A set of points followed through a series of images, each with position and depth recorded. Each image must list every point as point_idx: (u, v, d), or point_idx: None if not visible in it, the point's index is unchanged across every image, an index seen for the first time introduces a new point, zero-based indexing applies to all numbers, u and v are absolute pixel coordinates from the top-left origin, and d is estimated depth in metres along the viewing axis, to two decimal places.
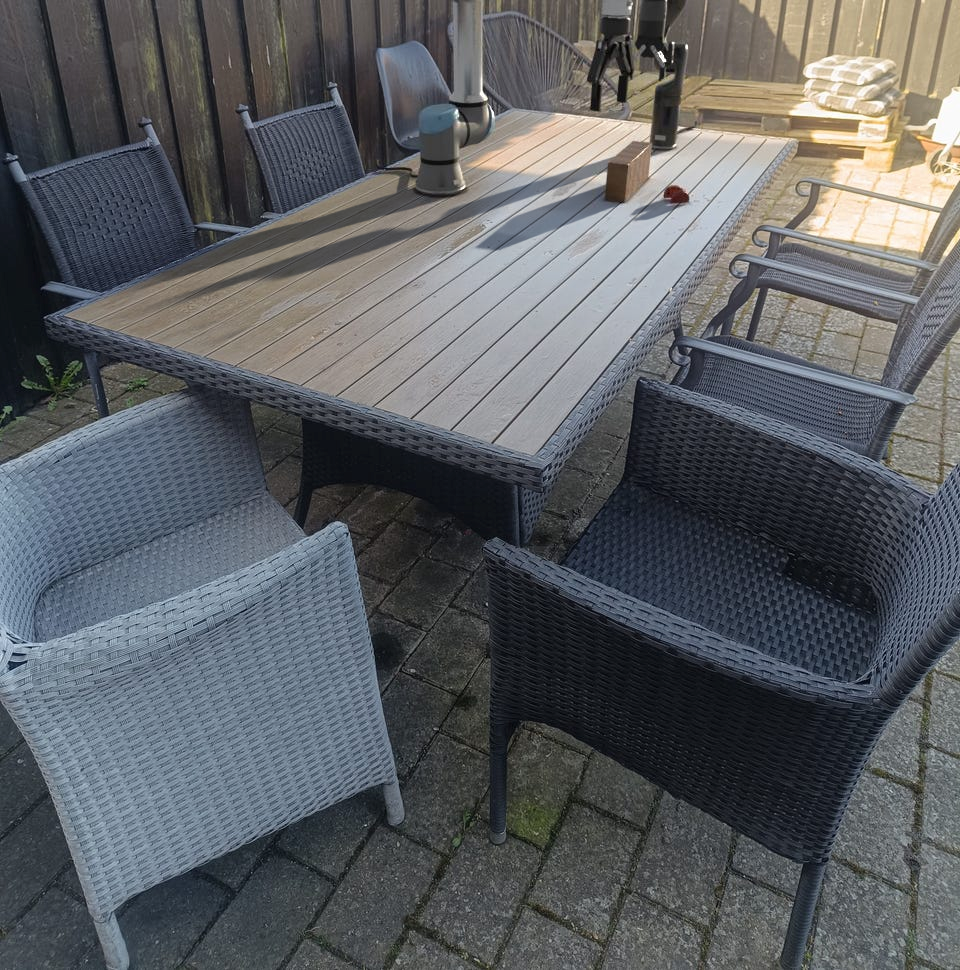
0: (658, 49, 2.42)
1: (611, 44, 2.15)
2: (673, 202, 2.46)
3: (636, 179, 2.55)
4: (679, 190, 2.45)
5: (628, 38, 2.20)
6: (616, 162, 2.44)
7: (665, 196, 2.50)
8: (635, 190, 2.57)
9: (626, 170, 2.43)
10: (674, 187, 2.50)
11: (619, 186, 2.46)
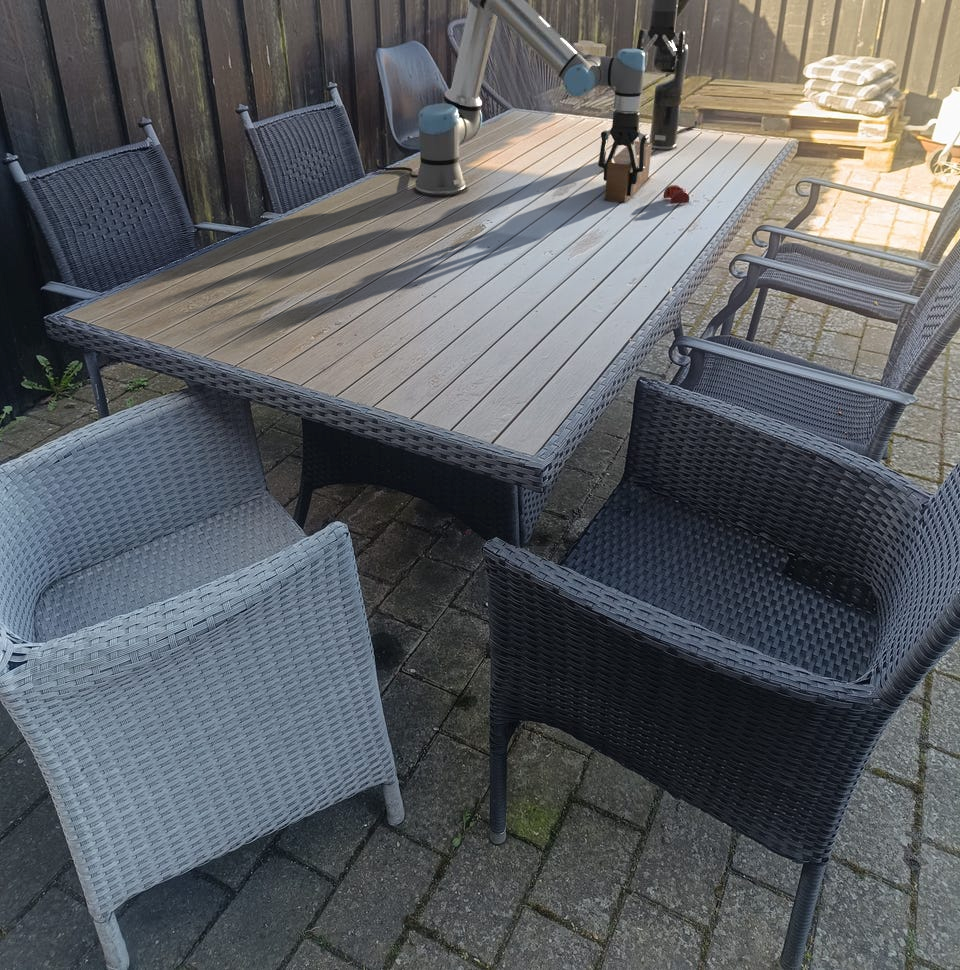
0: (669, 38, 2.56)
1: None
2: (673, 202, 2.46)
3: None
4: (679, 190, 2.45)
5: None
6: (616, 162, 2.44)
7: (665, 196, 2.50)
8: (635, 190, 2.57)
9: (626, 170, 2.43)
10: (674, 187, 2.50)
11: (619, 186, 2.46)
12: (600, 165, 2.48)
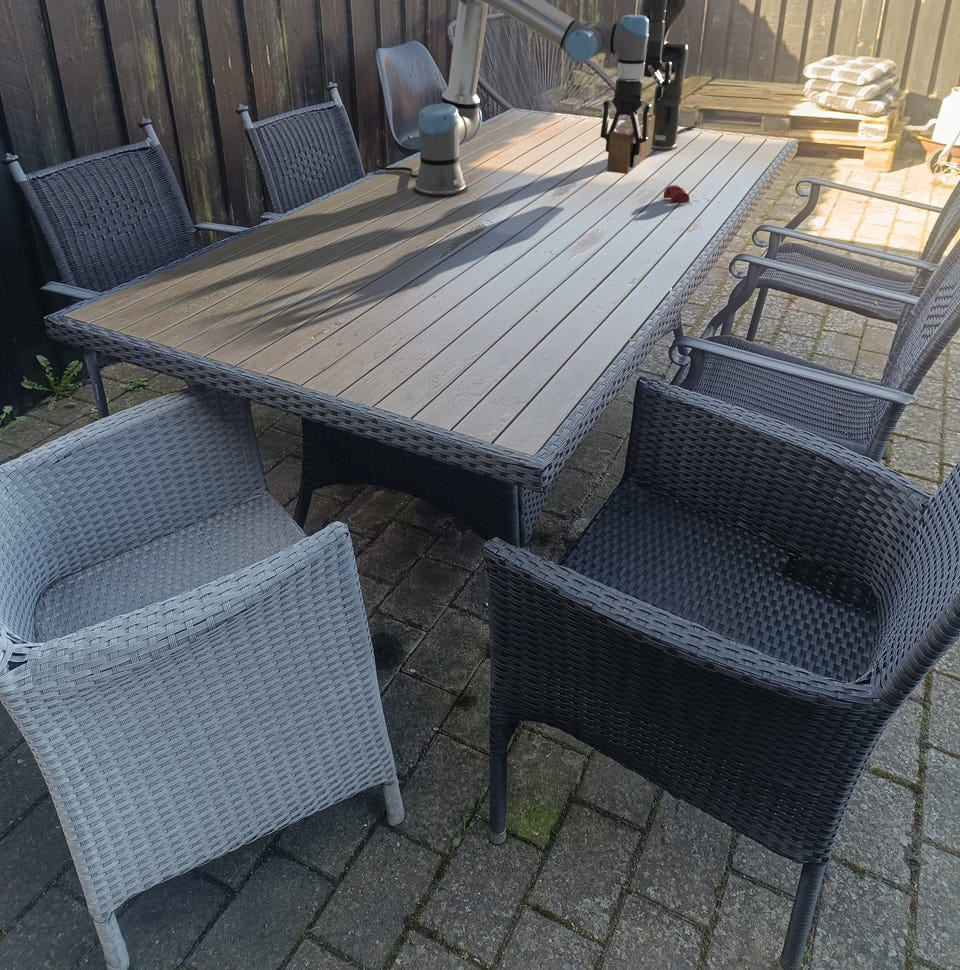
0: (655, 69, 2.46)
1: None
2: (673, 202, 2.46)
3: None
4: (679, 190, 2.45)
5: None
6: (619, 132, 2.39)
7: (665, 196, 2.50)
8: (638, 162, 2.52)
9: (629, 140, 2.38)
10: (674, 187, 2.50)
11: (622, 157, 2.41)
12: (602, 136, 2.43)
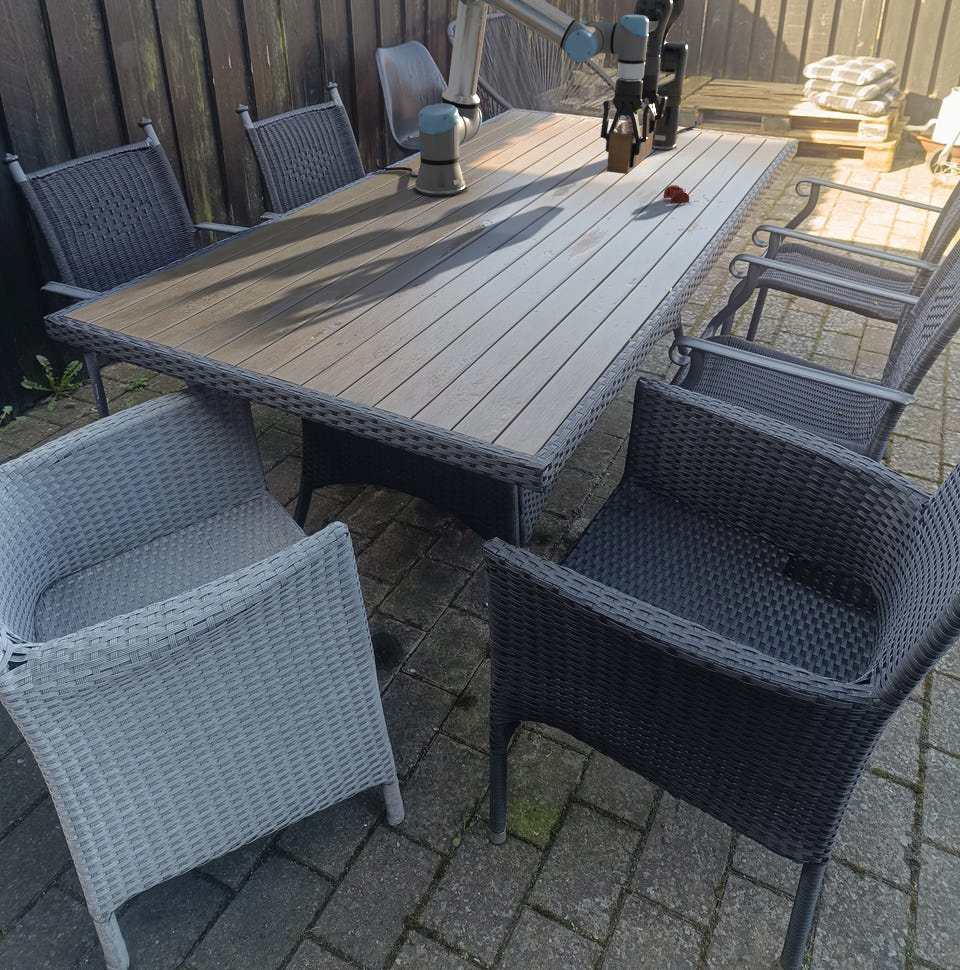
0: (651, 102, 2.51)
1: None
2: (673, 202, 2.46)
3: None
4: (679, 190, 2.45)
5: None
6: (619, 132, 2.39)
7: (665, 196, 2.50)
8: (638, 162, 2.52)
9: (629, 140, 2.38)
10: (674, 187, 2.50)
11: (621, 157, 2.41)
12: (602, 136, 2.43)
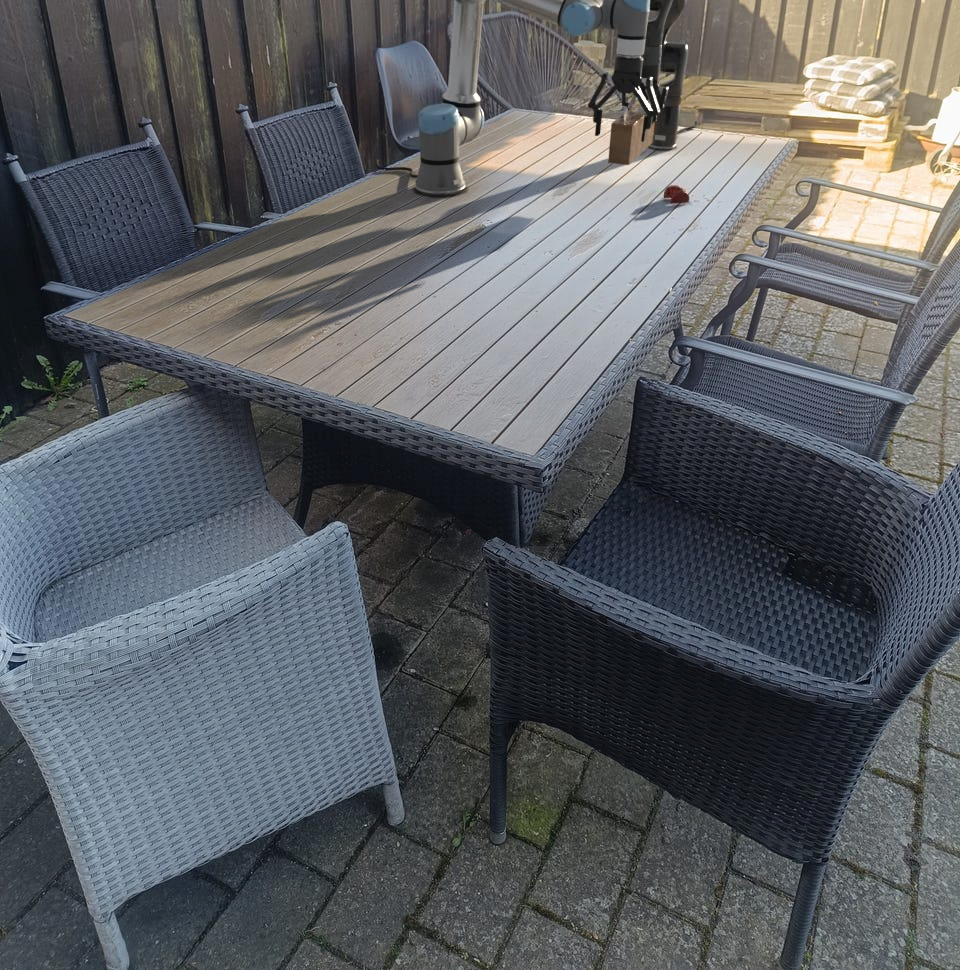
0: None
1: None
2: (673, 202, 2.46)
3: (640, 142, 2.49)
4: (679, 190, 2.45)
5: None
6: (620, 123, 2.38)
7: (665, 196, 2.50)
8: (639, 153, 2.51)
9: (631, 131, 2.37)
10: (674, 187, 2.50)
11: (623, 148, 2.40)
12: (589, 106, 2.38)
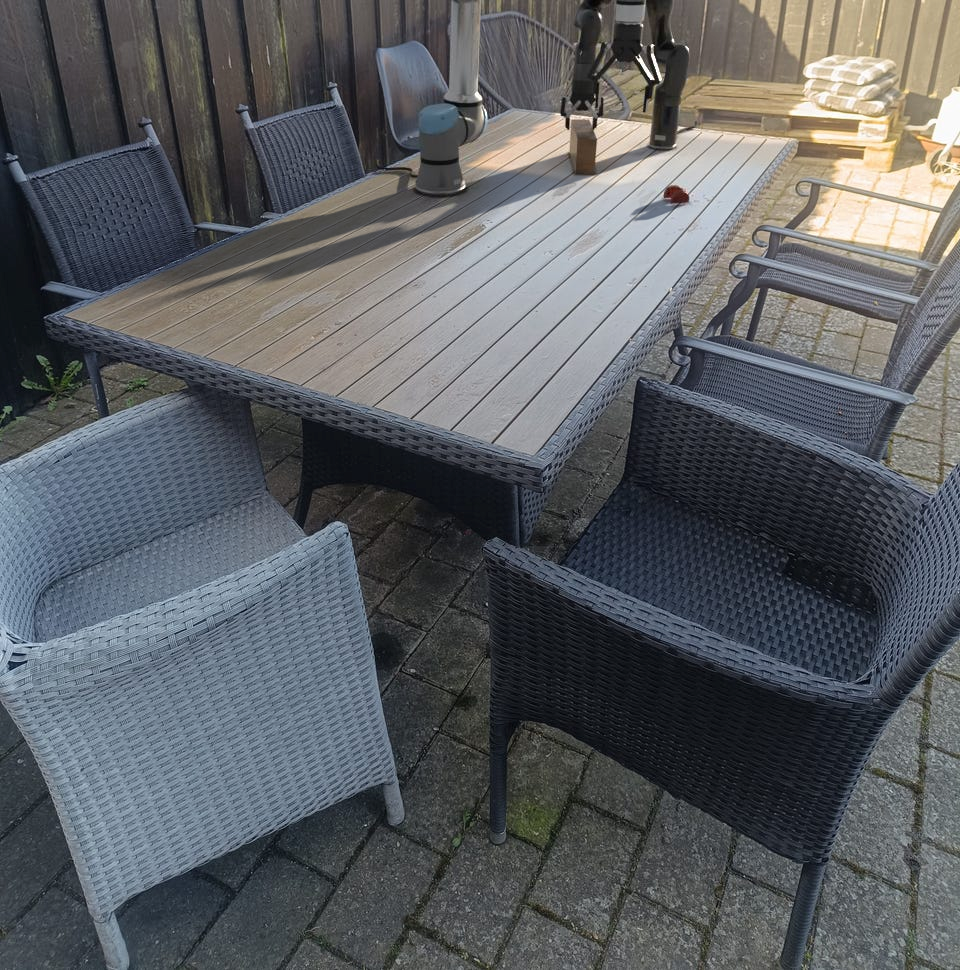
0: (591, 103, 2.80)
1: None
2: (673, 202, 2.46)
3: None
4: (679, 190, 2.45)
5: None
6: (584, 138, 2.66)
7: (665, 196, 2.50)
8: None
9: (595, 144, 2.67)
10: (674, 187, 2.50)
11: (589, 160, 2.69)
12: (589, 77, 2.31)
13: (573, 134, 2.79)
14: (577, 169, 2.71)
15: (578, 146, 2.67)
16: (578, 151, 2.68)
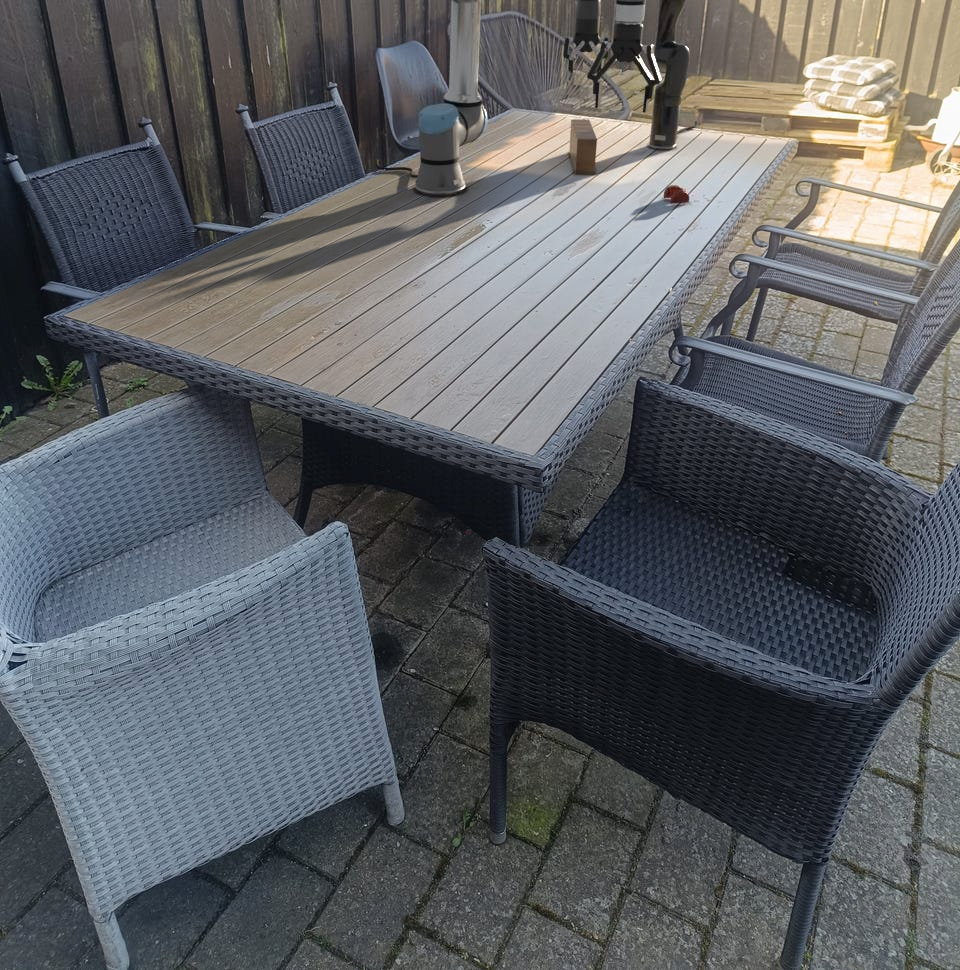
0: (595, 44, 2.69)
1: None
2: (673, 202, 2.46)
3: None
4: (679, 190, 2.45)
5: None
6: (584, 138, 2.66)
7: (665, 196, 2.50)
8: None
9: (595, 144, 2.67)
10: (674, 187, 2.50)
11: (589, 160, 2.69)
12: (589, 77, 2.31)
13: (573, 134, 2.79)
14: (577, 169, 2.71)
15: (578, 146, 2.67)
16: (578, 151, 2.68)
